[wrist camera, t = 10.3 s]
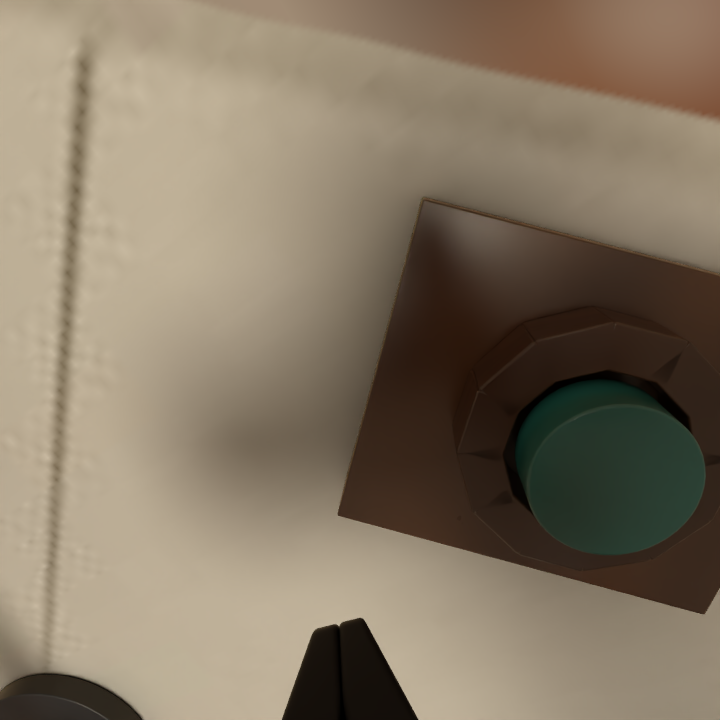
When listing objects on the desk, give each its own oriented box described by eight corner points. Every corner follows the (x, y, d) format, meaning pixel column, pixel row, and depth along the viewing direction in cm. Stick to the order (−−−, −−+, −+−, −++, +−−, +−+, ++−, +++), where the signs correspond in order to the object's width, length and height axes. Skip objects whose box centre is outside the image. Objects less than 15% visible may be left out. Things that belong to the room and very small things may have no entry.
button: (699, 401, 14) (739, 431, 12) (635, 531, 15) (663, 574, 13) (544, 360, 14) (562, 384, 12) (494, 493, 15) (503, 532, 13)
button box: (817, 299, 16) (941, 335, 12) (673, 569, 19) (736, 663, 15) (422, 196, 16) (424, 200, 12) (345, 480, 19) (328, 552, 16)
